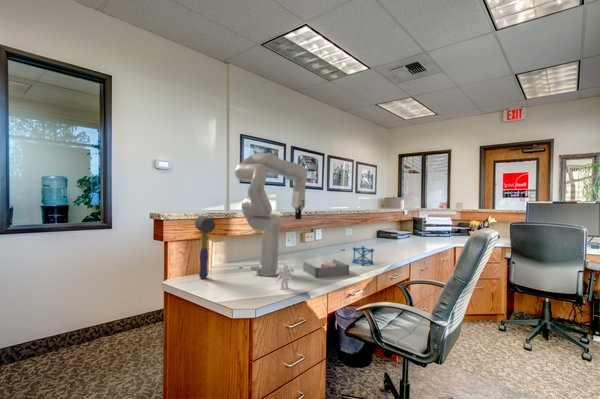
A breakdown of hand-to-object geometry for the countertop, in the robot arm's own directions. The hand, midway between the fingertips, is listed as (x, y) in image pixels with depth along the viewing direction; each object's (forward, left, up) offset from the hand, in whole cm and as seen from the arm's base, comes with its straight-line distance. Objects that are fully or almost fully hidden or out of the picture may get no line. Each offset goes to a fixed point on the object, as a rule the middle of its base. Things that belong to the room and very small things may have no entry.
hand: (298, 219), depth 186 cm
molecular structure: (+40, -13, -27) cm, 50 cm away
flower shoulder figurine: (-26, -42, -27) cm, 56 cm away
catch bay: (+6, -24, -27) cm, 37 cm away
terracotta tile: (+10, -22, -27) cm, 36 cm away
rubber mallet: (-57, -14, -27) cm, 65 cm away
